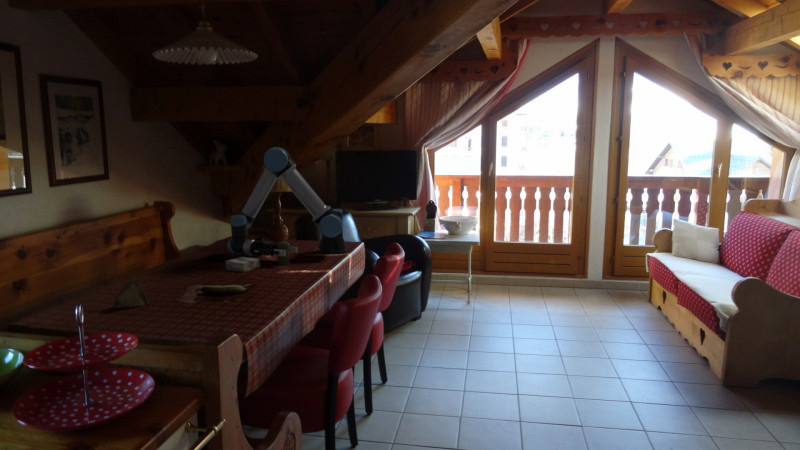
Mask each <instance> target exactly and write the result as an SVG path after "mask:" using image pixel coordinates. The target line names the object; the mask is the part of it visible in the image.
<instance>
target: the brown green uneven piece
mask: <svg viewBox="0 0 800 450" xmlns="http://www.w3.org/2000/svg"><path fill="white" fill-rule="evenodd" d="M251 285H252V284H250V283H248V284H243V285H238V284H228V285H220V284H219V285H218V284H217V285H215V284H214V285H203V284H199V285H198V284H197V285H196V284H195V285H190V286H188V287H187V288H186V291H185V292H184V294H183V295H181V296H180V297H176V298H174V300H176V302H178V303H186V304H196V300H195V299H196V298H197V297H198V296H200V297H204V296H228V295H236V294H241V293H243V292H246V291H249V286H251ZM197 289H199V291H196V290H197ZM249 299H251V297H248V298H245V300H249ZM232 300H233V299H232ZM232 300H231V301H232ZM235 300H236V301H241V300H243V298H240V299H235ZM229 302H230V300H223V303H229ZM206 303H207V304H208V303H210V301H207V302H206Z"/></svg>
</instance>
